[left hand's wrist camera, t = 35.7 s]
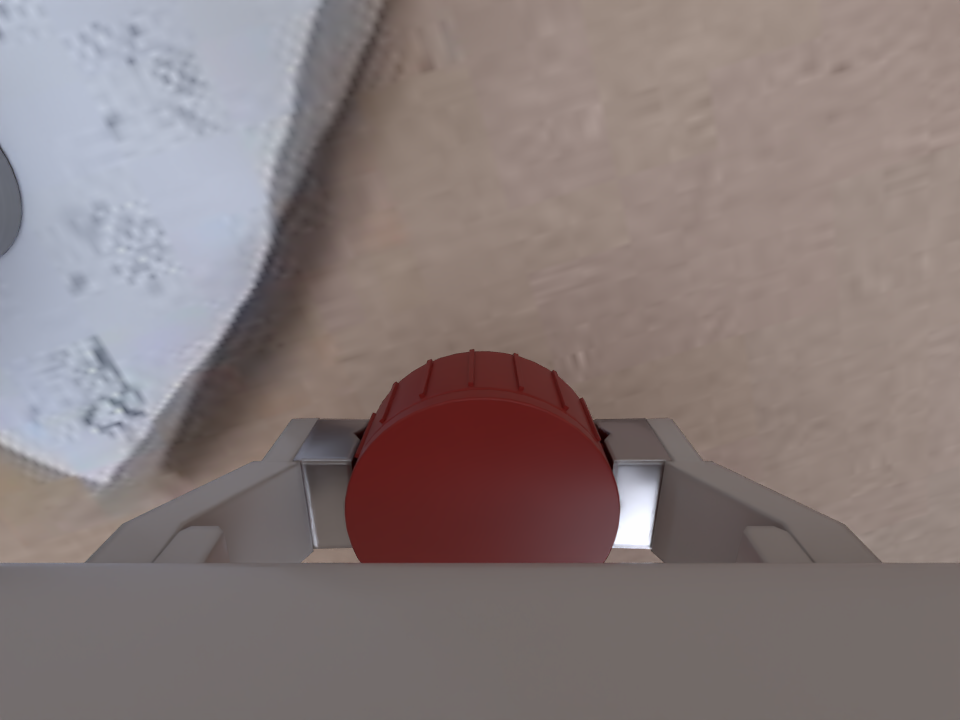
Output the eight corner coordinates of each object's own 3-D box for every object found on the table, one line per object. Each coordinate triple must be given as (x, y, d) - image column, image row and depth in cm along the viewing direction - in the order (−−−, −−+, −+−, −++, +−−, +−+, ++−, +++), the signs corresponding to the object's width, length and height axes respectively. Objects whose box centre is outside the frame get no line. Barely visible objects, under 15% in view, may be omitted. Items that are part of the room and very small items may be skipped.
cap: (597, 338, 9) (626, 383, 7) (596, 540, 11) (619, 618, 9) (348, 356, 9) (316, 405, 7) (385, 553, 11) (366, 633, 9)
